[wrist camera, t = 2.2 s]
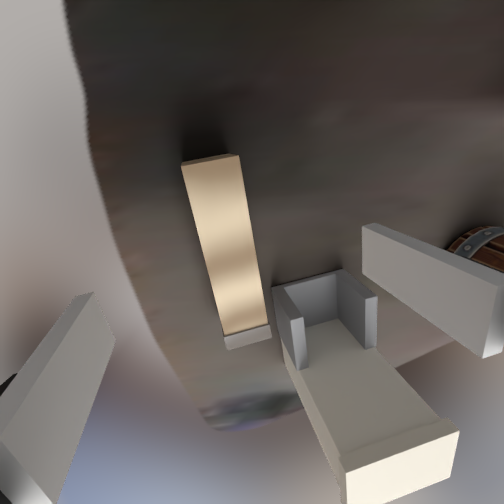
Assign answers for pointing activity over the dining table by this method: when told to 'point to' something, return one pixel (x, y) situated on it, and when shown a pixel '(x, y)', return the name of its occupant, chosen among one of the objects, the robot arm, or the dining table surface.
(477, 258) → the mug
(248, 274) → the rail
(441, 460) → the u-notched block
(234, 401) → the dining table surface
